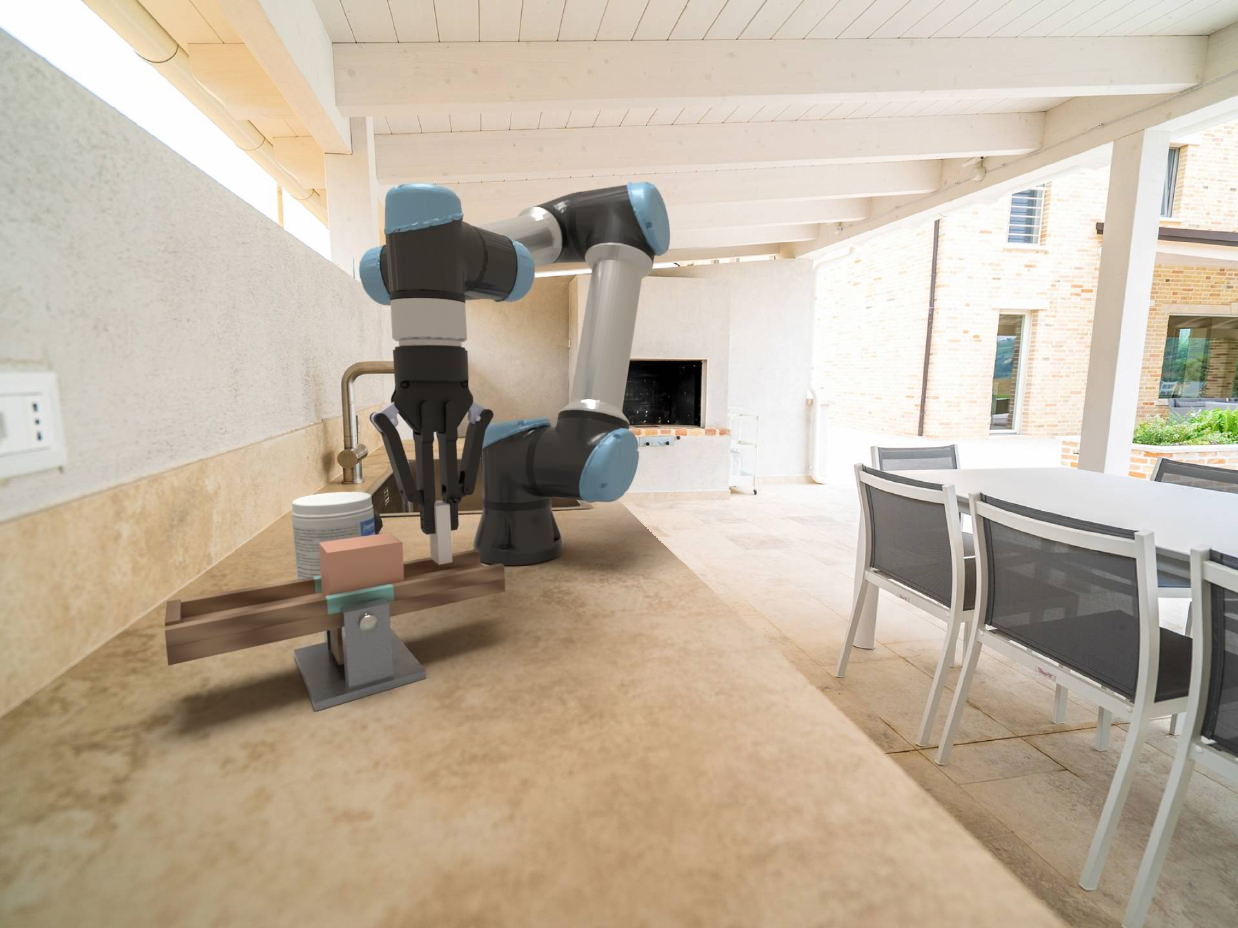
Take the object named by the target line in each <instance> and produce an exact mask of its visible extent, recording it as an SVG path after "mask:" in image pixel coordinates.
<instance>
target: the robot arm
mask: <svg viewBox="0 0 1238 928" xmlns="http://www.w3.org/2000/svg"><path fill="white" fill-rule="evenodd" d="M384 202H385V203H384V229H383V232H384V235H385V243H384V244H381V245H380V246H375V247H372V248H369V249H368V250H366V252H365V253H363V255H362V257H361V259H360V262H359V268H358V275H359V279H360V283H361V285H362V288H363V289H364V291H365V293H366V294H367V295H368V296H369V298H370V299H372V300H373V301H374V302H376V303H377V304H380V305H383V306H387V307H388V306H389V307H390V318H391V319H390V320H391V338H392V339H393V340H394V341H395V342H398V346H395V347H394V349H392V356H393V357H392V360H393V373H394V390H393V392H392V395H391V398H390V403H389V404H388V405H387V406H385V407H383V408H382V409H381V410H379V411H378V412H377V411H375V412H374V411H373V412H372V413H370V415H369V418H368V419H369V421H370V422H371V424H372V425H373V426H374V427H375V429H376V430H377V431H378V433H379V434H380V435H381V439H382V441H383V445H384V448H385V452H386V454H387V457H388V460H389V464H390V466H391V470H392V473H393V476H394V478H395V482H396V484H397V489H398V491H399V494H400V496H401V498H403V499H404V500H406V501H408V502H409V503H415V504H417V505H418V506H419V522H420V529H421V532H422V533H424V534H425V535H427V536H428V535H429V546H430V557H431V559H432V560H434V561H435V562H436V563H438V564H439V565H440V564H445V563H450V562H452V553H453V547H452V546H453V545H452V531H457V530H458V529H459V525H460V522H459V504H460V503H461V502H462V498H464V497H466V496H471V495H473V494H474V492H475V489H476V484H477V483H476V482H477V478H478V473H479V466H480V474H481V494H482V512H481V516H480V520H479V522H478V525H477V530H476V532H475V536H474V539H473V550H476V549H477V550H479V551H480V562H483V563H485V564H490V565H494V564H499V563H501V564H503V565H504V566H523V565H532V564H538V563H542V562H548V561H550V560H553V559H555V558H557V557H559V556H560V555H561V554H562V553H563V538H562V535H561V532H560V529H559V526H558V523H557V521H556V518H555V515H554V512H553V509H552V498H556V499H557V498H558V499H566V500H567V499H568V500H573V501H574V500H575V501H584V502H587V503H589V504H590V503H591V504H593V503H612V502H615V501H617V500H619V499H620V498H622V497H624V495H625V493H626V492H627V491H628V490H629V489H630V487H631V485H632V484H633V481H634V479H635V476H636V473H637V470H638V466H639V459H640V451H638V448H639V443H638V442H639V441H638V438H637V436H636V435H635V433H634V432H633V431H632V430H630V421H629V419H628V418H627V416H626V415H625V414H624V413H623V406H624V401H625V393H626V386H627V379H628V374H629V366H630V362H631V353H632V349H633V341H634V334H635V327H636V321H637V314H638V308H639V307H638V306H639V300H640V296H641V295H640V293H641V288H642V287H641V286H642V281H643V279H645V278H646V277H648V276H649V275H650V274H651V273H652V271H653V267H654V261H655V256H657V257H660V256H662V255H665V254H666V253H667V252H668V250H669V248H670V244H671V243H670V242H671V231H670V230H671V228H670V220H669V215H668V210H667V206H666V204H665V201H664V198H663V197H662V194H661V192H660V191H659V189H658V188H657V187H656V186H655V184H653V183H651V182H648V181H643V182H642V181H641V182H631V181H630V182H627V183H626V184H623V185H617V186H610V187H609V186H608V187H603V188H596V189H590V190H583V191H577V192H571V193H568V194H565V195H562V196H559V197H557V198H555V199H554V198H553V199H551V200H548V201H546V202H543V203H540V204H537V205H534V206H529V207H527V208H524V209H523V210H521V212H519V214H518V215H517V216H515V217H510V218H506V219H501V220H497V221H492V222H488V223H484V224H479V225H471V224H470V223H469V222H466V221H464V220H463V219H464V213H463V209H462V202H461V198H460V197H459V196H458V195H457V194H456V192H455V191H453V190H452V189H450V188H448V187H444V186H441V185H437V184H434V183H433V184H432V183H425V182H408V183H401V184H398V185H395V186H393V187H391V188H390V189H389V190H388V191H387V192H386V195H385V199H384ZM564 263H566V264H569V263H572V264H573V263H586V264H587V266H588V267H589V268H590V270H591V273H590V278H589V279H590V280H589V284H588V285H589V286H588V290H587V291H588V292H587V297H586V298H587V299H586V302H585V303H586V304H585V309H584V315H583V320H582V328H581V334H580V339H579V344H578V345H579V347H578V351H577V352H578V353H577V358H576V363H575V364H576V365H575V370H574V375H573V376H574V377H573V381H572V382H573V383H572V389H571V393H570V394H571V395H570V400H569V403H568V404H567V405H565V406H564V407H563V408H561V409H560V410H559V411H558V416H557V421H556V425H555V426H552V423H551V421H550V418H549V417H536V418H528V419H527V418H526V419H519V420H510V421H509V420H507V421H501V422H494V423H491V421H492V420H493V418H494V412H493V410H492V409H489V408H484V407H483V406H481V405H479V404H478V403H476V402H475V401H474V395H473V393H472V392H471V390H470V388H469V387H470V386H469V379H470V378H469V355H468V350H466V347H465V346H462V343H465V342H466V341H467V340H468V329H467V313H466V312H467V310H466V301H476V300H492V301H494V302H496V303H502V302H506V303H507V302H509V303H513V302H517V301H519V300H521V299H523V298H524V297H525V296H526V295H527V294H528V293H529V292H530V290H531V289H532V286H533V284H534V281H535V278H536V274H535V273H536V268H535V267H546V266H547V267H548V266H549V265H553V264H564ZM398 415H399V416H400V417H401V419H402V420H403V421H404V422H405V423H406V425H407V426H408V427H409V428H410V429H411V430H412V438H413V441H414V454H415V455H414V456H415V475H416V482H415V481H414V476H413V473H412V470H411V467H410V463H409V460H408V458H407V455H406V452H405V447H404V445H403V442H402V438H401V436H400V433H399V431H398V429H397V426H398V425H399V420H398V419H399V418H398ZM466 416H467V421H468V425H467V426H466V433H465V437H464V443H463V447H462V448H463V449H462V453H461V459H460V463H458V447H457V446H458V445H457V442H458V439H459V438H458V437H459V436H458V435H459V433H458V432H459V430H458V428H459V426H460V425H461V423H462V421H463V419H464V418H465V417H466ZM435 435H436V439H437V443H438V445H437V446H438V464H439V465H438V466H439V467H438V468H439V484H440V496H441V498H442V500H441V499H440V500H436V499H437V498H436V481H435V461H434V459H435V457H434V441H435ZM458 464H459V465H458ZM458 466H459V467H458ZM415 483H416V484H415Z"/></svg>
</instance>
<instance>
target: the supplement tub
mask: <svg viewBox="0 0 1238 928" xmlns="http://www.w3.org/2000/svg"><path fill="white" fill-rule="evenodd" d="M372 501H373V500H372V495H371V494H370V493H367V492H363V491H350V492H349V491H336V492H325V493H324V492H323V493H318V494H317V493H316V494H310V495H305V496H302V497H298V498H296V499H294V500H292V503H291V507H292V508H291V509H292V511H291V522H292V525H291V526H292V536H293V545H294V547H293V548H294V557H295V568H296V580H298V579H304V578H309V577H315V576H321V571H320V555H319V542H326V541H333V540H341V539H348V538H355V537H362V536H370V535H375V526H374V512H373V508H374V504H373V502H372ZM372 507H373V508H372Z"/></svg>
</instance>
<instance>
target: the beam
mask: <svg viewBox="0 0 1238 928" xmlns="http://www.w3.org/2000/svg"><path fill="white" fill-rule="evenodd" d="M403 567H404V581H403V582H398V583H393V584H387V585H382V586H377V587H371V588H366V589H361V590H356V591H350V592H345V593H340V594H334V595H329V596H324V597H323V595H322V587H321V576H315V577H309V578H304V579H298V580H297V579H292V580H286V581H281V582H275V583H269V584H263V585H257V586H252V587H251V586H250V587H246V588H245V587H244V588H239V589H234V590H226V591H221V592H216V593H209V594H205V595H198V596H192V597H185V598H181V599H175V600H168V601H166V605H165V618H164V636H165V646H166V656H167V657H166V658H167V666H168V667H169V666H173V665H178V664H182V663H187V662H191V661H196V660H200V659H205V658H209V657H214V656H218V655H223V654H228V653H233V652H236V651H241V650H246V649H250V648H254V647H259V646H263V645H268V644H271V643H272V644H273V643H277V642H278V643H279V642H282V641H286V640H291V639H296V638H299V637H304V636H305V637H306V636H310V635H314V634H319V633H323V632H324V631H328V630H330V638H331V651H332V652H333V654H334V656H335V658H336V660H337V662H338V664H339V665H341V664H344V654H343V639H342V625H341V611H340V608H341V607H346V606H350V605H355V604H360V603H365V602H369V601H374V600H379V599H384V598H385V599H386V600H387V602H388V603H389V611H390V618H391V617H396V616H401V615H405V614H410V613H412V612H413V613H414V612H419V611H422V610H427V609H432V608H436V607H441V606H445V605H449V604H454V603H459V602H463V601H469V600H473V599H477V598H482V597H486V596H491V595H495V594H499V593H504V592H506V577H505V565H503V564H501V563H499V564H490V565H484V564H482V563H481V561H480V551H479V550H477V549H476V550H474V549H471V550H470V549H469V550H466V551H460V552H452V562H450V563H445V564H440V565H439V564H438V563H436V562H435V561H434V560H432V559H431V556H430V557H424V558H423V557H422V558H417V559H411V560H405V561H403Z"/></svg>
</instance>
